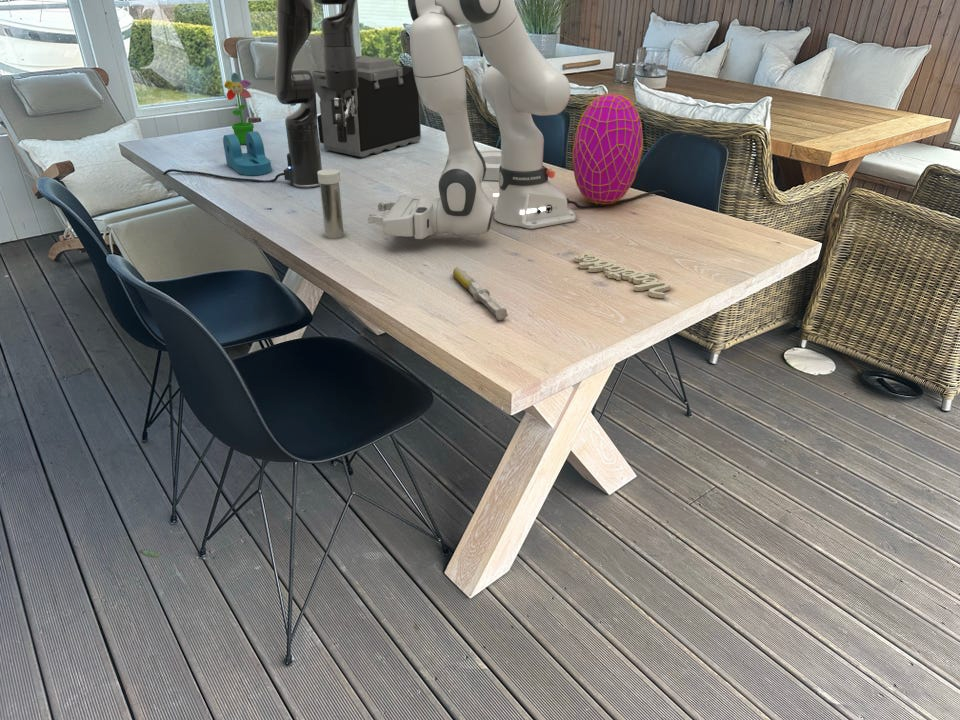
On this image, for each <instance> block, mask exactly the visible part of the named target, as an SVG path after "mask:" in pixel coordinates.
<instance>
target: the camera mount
mask: <svg viewBox="0 0 960 720" xmlns="http://www.w3.org/2000/svg"><path fill="white" fill-rule="evenodd" d="M245 139H246V144H245V146H246V152H243V151H242V150H243V149H242V145H241V144H240V142H239V140H238V138H237V136H236V135H235V134H234V133H231V134H224V135H223V138H222V140H223V141H222V143H223V149H224V150H223V151H224V156H225V161H226V165H227V166H228V167H230V168H231V169H232V170H234V171H236V172H237V173H238V174H239V175H244V176H260V175H265V174H268V173H271V172H272V164H271V159H270V158H268V157H267V156H266V153H265V145H264V141H263V139H262V136H261V134H260V132H258V131H253V132H247V133H246V137H245Z"/></svg>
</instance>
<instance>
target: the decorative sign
mask: <svg viewBox="0 0 960 720" xmlns="http://www.w3.org/2000/svg"><path fill="white" fill-rule="evenodd" d="M574 262H575V263H578V269H588V270H587V272H588V273H598V272H603V273H604V276H606V277H607V278H608V279H614V280H617V281H621V279H622V280H627V281H628V282H630V283H633V284H634V285H633V291H636V292H643V291H647V290H648V293H647V294H648V296H649V297H652V298H656V299H664V298H665V295H666V292H668V291H669V290H670V289H671V283H670V282H668V281H659V279H658V272H657V271H648V272H639V271H637V270H634V269H630V268H628V267H627V266H626V267H625V266H624V265H619V264H618V263H615V262H611V261H610V260H604V258H601V257H598V256H596V255H592V254H590V253H587V252H586V253H582V254H581V255H580V256H578V255H575V256H574Z"/></svg>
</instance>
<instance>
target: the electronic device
mask: <svg viewBox="0 0 960 720" xmlns="http://www.w3.org/2000/svg"><path fill="white" fill-rule="evenodd" d="M356 60H357V73H358V88H357V89H354V90H355V99H356V110H357V114H355V115H356V117H355V118H354V119H355V131H356V133H355V134H354V135H348V134H347V137H348V141H347V142H346V143H341V142H338V135H337V126H335V125H333V117H332V105H331V98H335V91H334V90H330V89H328V88H327V87H326V78H325V71H320V70H314V71H313V70H312V71H310V72H311V73H312V75H313V78H314V81H315V89H316V95H317V96H318V98H319V110H320V111H319V112H320V114H319V115H317V127H318V137H319V144H323V146H324V149H325V150H327V151H330V152H335V153H340V154H344V155H348V156H353V157H357V158H362V159H363V158H366V157H367V158H368V157H369V155H371V154H375V155H377V154H381V153H382V152H383V151H391V150H395V149H396V148H397V147H405V146H407V145H408V144H416V143H418V142H419V141H421V137H422V128H421V98H420V95H419V93H418V90H417V86H416V82H415V77H414V73H413V67H412V66H408V65H400V64H396V62H395V60H394V59H393V58H385V57H377V56H367V55H356ZM339 119H341V117H340V118H339Z"/></svg>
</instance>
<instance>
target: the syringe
mask: <svg viewBox="0 0 960 720" xmlns="http://www.w3.org/2000/svg"><path fill="white" fill-rule="evenodd" d="M452 274H453V277H454V279H455V280H457V281H458V282H459V283H460V285H462V287H464V289H466V290H467V291H468V293H470V295H471V296H472V298H473V300H474V302H477V303H478V302H480V303H482V304H483V305H484V306H485V307H486V308H487V309H488V310H489V311H490V312H491V313H492V314H493V315H494V316H495V317H496V320H497V321H503V320H504V319H506V318H507V317H509V314H508V310H507V308H506V307H502V306H501V305H500V303H498V302H497V301H496V300H494V299H493V298H492V297H491V296H490V295H491V293H490V290H488V289H486V288H483V287H482V286H481V285H480V284H479V283H478V282H477V281H476V280H474V278H473V277H471V275H469V274H468V273H467V272H466V270H465V269H464V268H463V267H462V266H456V267H454V268H453V271H452Z"/></svg>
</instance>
